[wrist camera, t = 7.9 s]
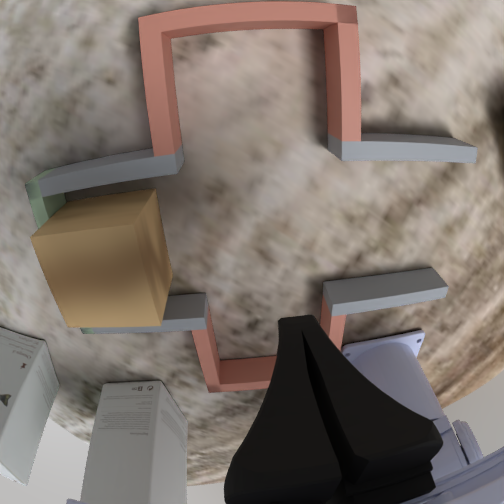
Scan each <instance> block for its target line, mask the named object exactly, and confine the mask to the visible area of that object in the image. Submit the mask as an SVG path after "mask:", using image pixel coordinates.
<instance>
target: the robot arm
mask: <svg viewBox="0 0 504 504" xmlns="http://www.w3.org/2000/svg"><path fill="white" fill-rule="evenodd" d="M278 329H279V345H278V351H277V357H276V362H275V366H274V370H273V374H272V377H271V381H270V384H269V387H268V390H267V393H266V395H265V398H264V400H263V403H262V405H261V408H260V410H259V412H258V414H257V417H256V419H255V421H254V422H253V424H252V426H251V428H250V430H249V432H248V434H247V436H246V437H245V439H244V441H243V442H242V444H241V445H240V447H239V449H238V450H237V452H236V453H235V455H234V456H233V458H232V461H231V464H230V467H229V469H228V472H227V475H226V479H225V484H224V498H225V503H226V504H503V503H504V447H502V448H500V449H498V450H497V451H495V452H493V453H491V454H489V455H487V456H486V457H483V454H482V452H481V450H480V447H479V445H478V443H477V441H476V438H475V436H474V435H473V432H472V430H471V429H470V427H469V425H468V423H467V422H463V421H460V420H456V421H455V422H453V423H452V424H453V426H454V428H455V430H456V433H457V434H456V435H457V437H458V439H459V442H460V444H461V446H460V445H459V443H458V440H457V438H456V436H455V434H454V432H453V429H452V427H451V425H450V423H449V421H448V418H447V416H446V415H445V414H444V412H443V410H442V408H441V406H440V404H439V402H438V400H437V398H436V395H435V393H434V391H433V389H432V387H431V385H430V383H429V381H428V379H427V378H426V376H425V374H424V372H423V370H422V368H421V366H420V364H419V362H418V360H417V358H416V357H417V355H418V352H419V350H420V347H421V344H422V342H423V339H424V336H425V333H424V331H423V330H419V331H414V332H410V333H405V334H400V335H395V336H390V337H385V338H380V339H374V340H369V341H363V342H358V343H352V344H347V345H344V346H343V347H342V350H341V351H340V350H339V349H338V348H337V347H336V346H335V344H334V343H333V342H332V341H331V339H330V338H329V337H328V335H327V334H326V333H325V331H324V330H323V329H322V327H321V326H320V324H319V323H318V321H317V320H316V318H315V317H314V316H313V315H304V316H296V317H287V318H281V319H280V320H278ZM66 504H90V503H85V502H81V501H77V500H73V499H68V500H67V503H66Z"/></svg>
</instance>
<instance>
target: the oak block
mask: <svg viewBox="0 0 504 504" xmlns="http://www.w3.org/2000/svg"><path fill="white" fill-rule="evenodd" d="M30 238H31V241H32V244H33V247H34V250H35V252H36V255H37V258H38V260H39V263H40V265H41V268H42V270H43V273H44V275H45V278H46V280H47V283H48V285H49V287H50V290H51V292H52V294H53V296H54V299H55V301H56V303H57V305H58V307H59V310H60V312H61V314H62V316H63V318H64V320H65V322H66V324H67V326H68V327H147V326H161V324H162V319H163V315H164V311H165V306H166V302H167V298H168V293H169V289H170V285H171V281H172V277H173V274H172V269H171V264H170V260H169V255H168V250H167V246H166V241H165V236H164V231H163V226H162V220H161V215H160V210H159V204H158V199H157V193H156V188H155V189H147V190H139V191H132V192H124V193H117V194H110V195H104V196H97V197H91V198H85V199H79V200H73V201H68V202H67V203H66V204H64V205H63V206H62V207H61V208H60V209H59V210H58V211H57V212H56V213H55V214H54V215H53V216H52V217H51V218H49V219H48V220H47V221H46V222H45V223H44V224H43V225H42V226H41V227H40V228H39V229H38V230H37V231H36V232H35V233H34V234H33V235H32V236H31V237H30Z"/></svg>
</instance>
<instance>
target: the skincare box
mask: <svg viewBox="0 0 504 504" xmlns="http://www.w3.org/2000/svg"><path fill="white" fill-rule="evenodd" d="M187 429H188V421H187V420H186V418H185V417H184V415H183V414H182V412H181V411H180V409H179V408H178V406H177V405H176V403H175V402H174V400H173V398H172V397H171V395H170V394H169V392H168V391H167V389H166V388H165V386H164V385H163V383H162V381H142V382H123V383H106V384H103V387H102V392H101V396H100V400H99V404H98V408H97V413H96V417H95V421H94V426H93V431H92V436H91V441H90V446H89V451H88V457H87V462H86V468H85V474H84V480H83V486H82V493H81V500H80V501H81V502H85V503H90V504H187Z"/></svg>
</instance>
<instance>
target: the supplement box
mask: <svg viewBox="0 0 504 504" xmlns="http://www.w3.org/2000/svg"><path fill="white" fill-rule="evenodd" d="M58 389H59V383H58V380H57V377H56V374H55V370H54V367H53V364H52V361H51V358H50V354H49V351H48V348H47V345H46V342H45V341H42V340H38V339H34V338H31V337H27V336H24V335H21V334H18V333H15V332H12V331H9V330H7V329H4V328H1V327H0V475H3V476H5V477H6V478H9V479H11V480H13V481H15V482H17V483H20V484H22V485H24V486H27V485H28V481H29V477H30V473H31V469H32V466H33V463H34V459H35V456H36V452H37V449H38V446H39V443H40V440H41V436H42V433H43V430H44V427H45V424H46V421H47V419H48V416H49V413H50V410H51V407H52V405H53V402H54V399H55V397H56V394H57V392H58Z"/></svg>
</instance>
